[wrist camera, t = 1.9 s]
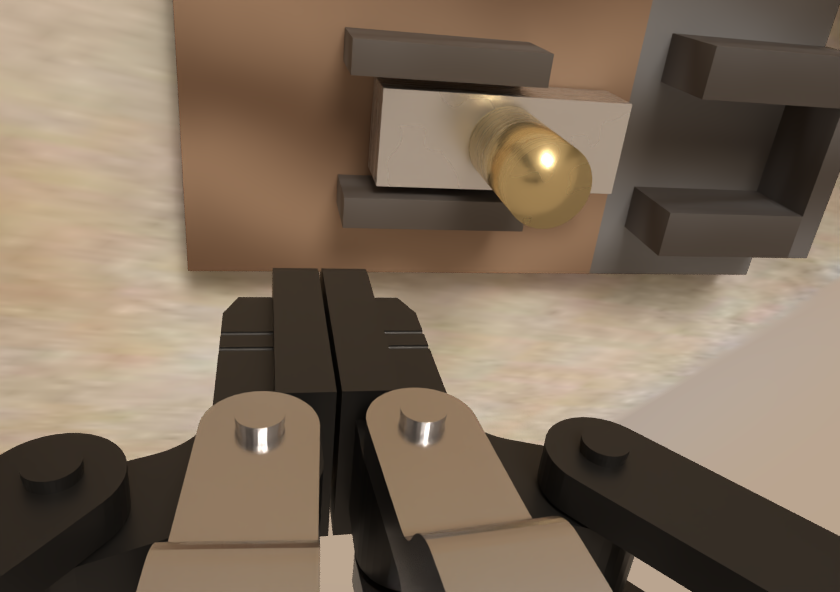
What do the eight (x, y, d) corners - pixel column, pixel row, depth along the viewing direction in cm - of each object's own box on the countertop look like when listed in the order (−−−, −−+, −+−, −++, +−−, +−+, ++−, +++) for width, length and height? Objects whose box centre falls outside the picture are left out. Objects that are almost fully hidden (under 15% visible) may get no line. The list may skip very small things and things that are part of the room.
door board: (174, -90, 21) (155, -91, 17) (816, -19, 25) (908, -7, 22) (191, 252, 26) (180, 308, 22) (725, 259, 30) (787, 306, 27)
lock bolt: (374, 75, 22) (407, 123, 17) (605, 90, 24) (699, 138, 19) (368, 166, 24) (396, 236, 19) (587, 175, 26) (670, 241, 20)
